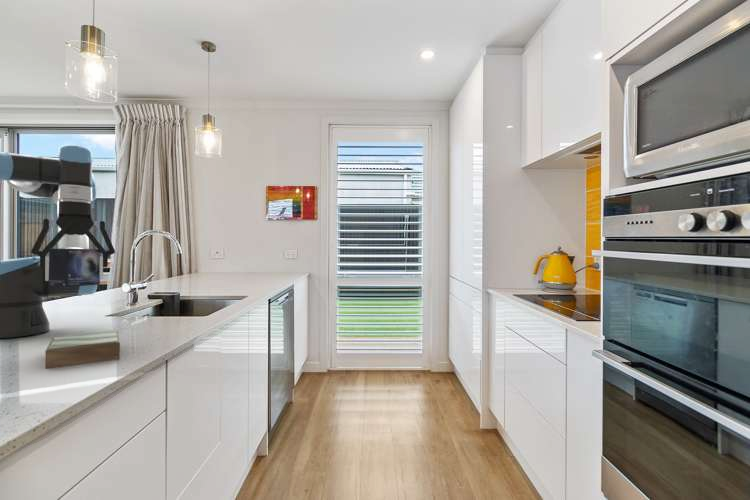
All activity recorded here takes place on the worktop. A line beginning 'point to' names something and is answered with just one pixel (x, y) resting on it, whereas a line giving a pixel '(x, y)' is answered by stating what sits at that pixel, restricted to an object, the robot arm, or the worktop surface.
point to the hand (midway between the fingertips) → (75, 279)
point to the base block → (82, 349)
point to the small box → (74, 267)
